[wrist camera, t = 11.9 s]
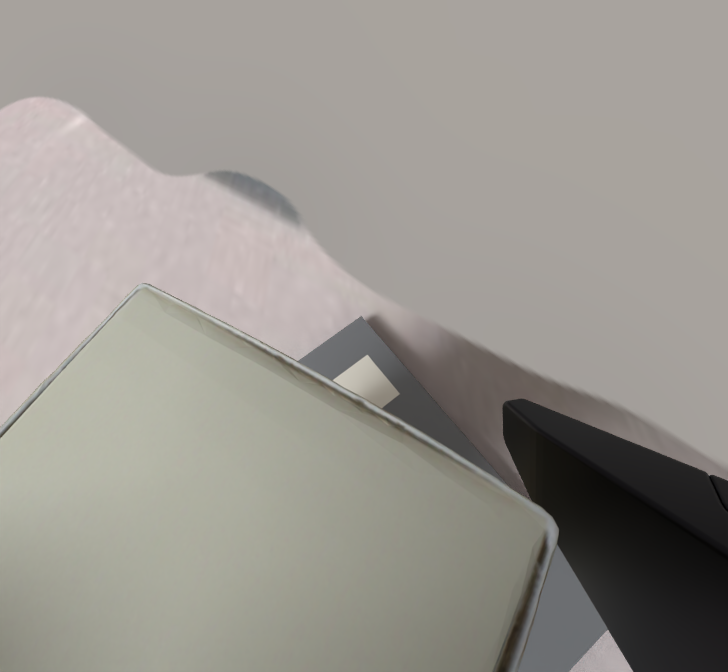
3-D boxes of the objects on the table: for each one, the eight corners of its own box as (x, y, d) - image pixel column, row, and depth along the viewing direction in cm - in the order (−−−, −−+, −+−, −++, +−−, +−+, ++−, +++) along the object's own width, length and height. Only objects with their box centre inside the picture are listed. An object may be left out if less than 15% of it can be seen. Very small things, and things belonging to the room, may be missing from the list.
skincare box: (444, 506, 15) (616, 534, 3) (390, 621, 13) (381, 1281, 2) (311, 423, 16) (133, 259, 5) (250, 517, 15) (-169, 575, 4)
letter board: (608, 609, 14) (620, 615, 13) (345, 890, 11) (342, 918, 11) (362, 323, 19) (361, 316, 18) (150, 474, 17) (139, 473, 16)
